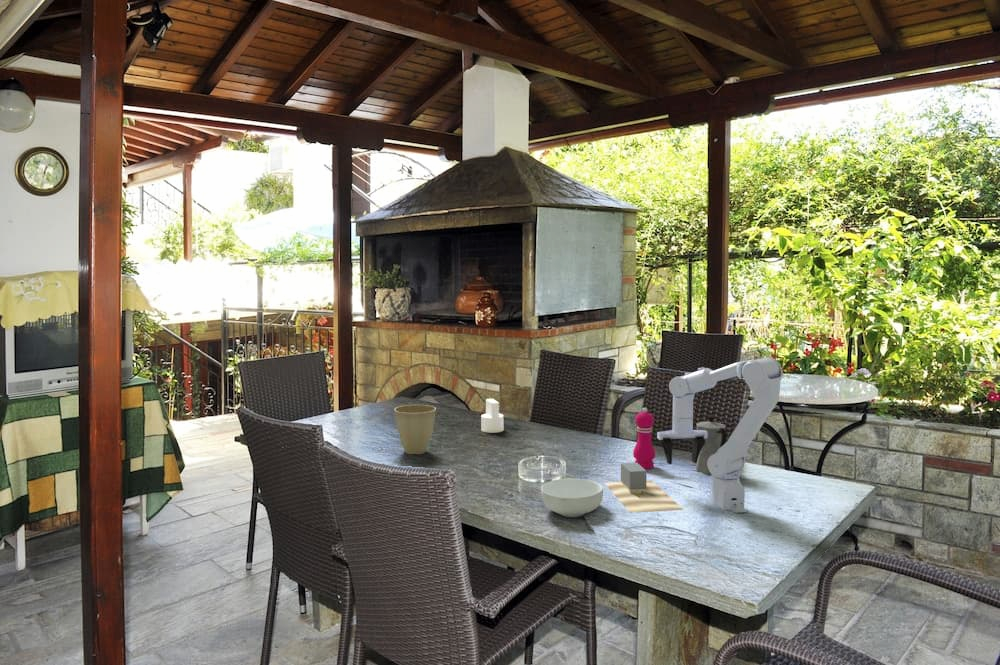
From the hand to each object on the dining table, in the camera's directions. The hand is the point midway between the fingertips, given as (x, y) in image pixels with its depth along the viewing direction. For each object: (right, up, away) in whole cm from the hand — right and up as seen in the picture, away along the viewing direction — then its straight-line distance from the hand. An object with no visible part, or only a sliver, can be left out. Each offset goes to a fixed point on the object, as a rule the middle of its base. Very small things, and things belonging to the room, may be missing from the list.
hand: (681, 462), depth 208 cm
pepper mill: (-5, -7, +28) cm, 30 cm away
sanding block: (-13, -8, +4) cm, 16 cm away
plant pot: (-83, -5, +49) cm, 97 cm away
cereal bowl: (-33, -11, -13) cm, 38 cm away
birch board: (-13, -10, -4) cm, 16 cm away
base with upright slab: (-56, -2, +81) cm, 99 cm away
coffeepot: (+15, -7, +23) cm, 29 cm away
